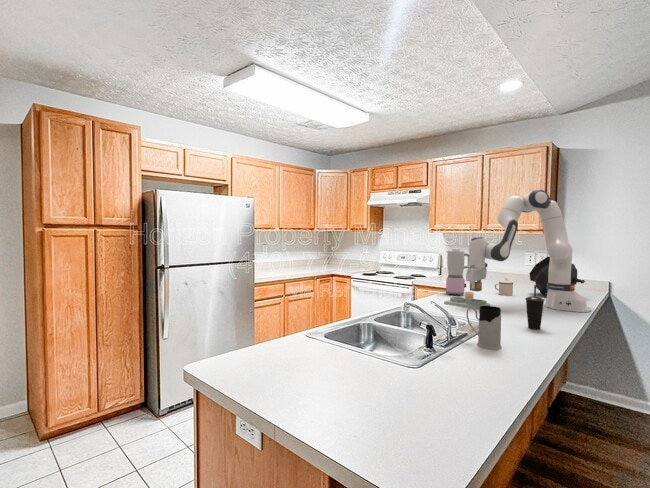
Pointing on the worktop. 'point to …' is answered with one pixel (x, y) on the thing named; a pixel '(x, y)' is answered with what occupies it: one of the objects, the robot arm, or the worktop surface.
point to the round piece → (468, 295)
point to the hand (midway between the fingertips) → (475, 287)
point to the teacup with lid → (505, 287)
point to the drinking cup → (534, 310)
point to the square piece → (478, 286)
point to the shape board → (466, 302)
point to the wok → (541, 275)
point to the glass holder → (488, 327)
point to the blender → (456, 272)
